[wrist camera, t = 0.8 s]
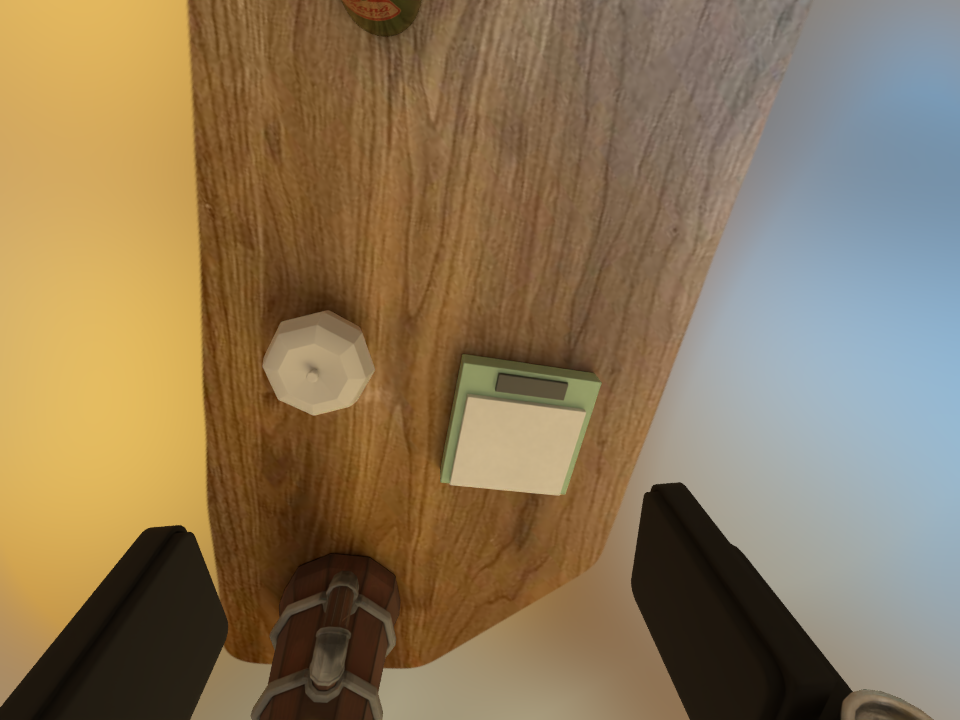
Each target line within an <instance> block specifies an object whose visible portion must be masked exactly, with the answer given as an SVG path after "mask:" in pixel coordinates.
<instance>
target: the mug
mask: <svg viewBox="0 0 960 720" xmlns="http://www.w3.org/2000/svg"><path fill="white" fill-rule="evenodd" d="M399 610H400V597H399V592H398V587H397V582H396V577H395V575H393V574H392V573H391V572H389V571H388V570H386V569H385V568H384V567H382V566H381V565H379V564H378V563H377V562H375V561H374V560H372V559H371V558H370V557H360V556H350V555H340V554H330V555H327V556H325V557H322V558H320V559H317V560H315V561H312V562H310V563H307V564H305V565H302V566H300V567H298V569H297V571H296V572H295V574H294V575H293V577H292V579H291V580H290V582H289V584H288V585H287V587H286V589H285V590H284V593H283V595H282V598H281V601H280V604H279V615H280V618H279V620H278V621H277V623H276V624H275V626H274V628H273V629H272V631H271V634H270V639H271V641H272V644H273V647H274V649H275V653H274V658H273V662H272V667H271V672H270V677H269V682H268V686H267V687H266V689H265V690H264V692H263V693H262V695H261V696H260V698H259V699H258V701H257V703H256V704H255V706H254V707H253V710H252V713H251V718H252V720H382V717H383V711H382V707H381V703H380V699H379V695H378V691H379V686H380V681H381V676H382V671H383V667H384V662H385V658H386V656H387V655H388V654H389V653H390V651H391V650H392V649H393V647H394V646H395V645H396V637H395V632H394V625H395V623H396V620H397V618H398V616H399Z"/></svg>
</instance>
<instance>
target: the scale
mask: <svg viewBox="0 0 960 720" xmlns="http://www.w3.org/2000/svg"><path fill="white" fill-rule="evenodd" d="M600 386H601V381H600V380H599V379H598V377H597V376H596V375H595V374H594V373H590V372H583V371H576V370H569V369H563V368H556V367H549V366H542V365H535V364H528V363H522V362H515V361H508V360H501V359H494V358H487V357H480V356H474V355H467V354H462V359H461V364H460V369H459V374H458V379H457V385H456V390H455V395H454V400H453V405H452V411H451V416H450V421H449V426H448V431H447V437H446V442H445V447H444V452H443V457H442V463H441V468H440V481H441V482H443V483H450V485H456V486H467V487H477V488H487V489H497V490H507V491H518V492H528V493H538V494H548V495H558V496H560V494H565V493H566V490H567V487H568V484H569V481H570V478H571V475H572V472H573V469H574V466H575V463H576V459H577V456H578V453H579V450H580V447H581V444H582V441H583V438H584V435H585V432H586V429H587V426H588V423H589V420H590V417H591V414H592V411H593V407H594V404H595V401H596V398H597V395H598V392H599V389H600Z"/></svg>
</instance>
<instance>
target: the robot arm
mask: <svg viewBox="0 0 960 720" xmlns="http://www.w3.org/2000/svg"><path fill="white" fill-rule="evenodd" d="M631 586H632V592H633V595H634V598H635V600H636V602H637V605H638V607H639V609H640V611H641V614H642V615H643V618H644V620H645V622H646V625H647V627H648V629H649V631H650V633H651V636H652V638H653V640H654V642H655V644H656V646H657V648H658V651H659V653H660V655H661V657H662V660H663V662H664V664H665V666H666V668H667V671H668V673H669V675H670V677H671V679H672V682H673V684H674V686H675V688H676V690H677V692H678V695H679V697H680V699H681V701H682V703H683V705H684V708H685V710H686V712H687V714H688V716H689V719H690V720H933V719H932V718H931V717H930V716H928V715H927V714H926V713H924V712H923V711H922V710H920V709H919V708H917V707H915V706H913V705H911V704H910V703H908V702H906V701H904V700H902V699H901V698H898V697H896V696H893V695H890V694H887V693H884V692H882V691H875V690H867V689H863V690H859V691H855V692H853V691H852V690H851V689H850V688H849V686H848V685H847V684H846V683H845V681H844V680H843V679H842V678H841V676H840V675H839V674H838V672H837V671H836V670H835V669H834V667H833V666H832V665H831V664H830V663H829V661H828V660H827V659H826V657H825V656H824V655H823V654H822V652H821V651H820V650H819V648H818V647H817V646H816V645H815V644H814V642H813V641H812V640H811V639H810V637H809V636H808V635H807V633H806V632H805V631H804V630H803V628H802V627H801V626H800V624H799V623H798V622H797V621H796V619H795V618H794V617H793V616H792V614H791V613H790V612H789V611H788V609H787V608H786V607H785V606H784V604H783V603H782V602H781V600H780V599H779V598H778V597H777V595H776V594H775V593H774V592H773V590H772V589H771V588H770V587H769V585H768V584H767V583H766V582H765V580H764V579H763V578H762V576H761V575H760V574H759V573H758V571H757V570H756V569H755V568H754V566H753V565H752V564H751V563H750V561H749V560H748V559H747V558H746V556H745V555H744V554H743V553H742V552H741V551H740V550H739V549H738V548H737V547H736V546H734V545H732V544H730V542H729V541H728V540H727V539H726V537H725V536H724V535H723V534H722V532H721V531H720V530H719V528H718V527H717V526H716V525H715V523H714V522H713V521H712V519H711V518H710V517H709V515H708V514H707V513H706V512H705V510H704V509H703V508H702V507H701V505H700V504H699V503H698V501H697V500H696V499H695V497H694V496H693V495H692V494H691V492H690V491H689V490H688V489H687V488H686V486H685V485H683V484H682V483H680V482H679V483H667V484H656V485H653V486H652V488H651V491H650V492H646V493H645V494H644V498H643V504H642V511H641V518H640V524H639V532H638V538H637V545H636V552H635V558H634V565H633V571H632V578H631ZM227 633H228V621H227V618H226V615H225V613H224V610H223V607H222V605H221V602H220V600H219V597H218V595H217V592H216V589H215V587H214V584H213V582H212V579H211V576H210V574H209V571H208V569H207V566H206V564H205V561H204V558H203V556H202V553H201V551H200V548H199V545H198V543H197V541H196V538H195V536H194V534H193V533H192V532H187V530H186V529H185V528H184V527H183V526H181V525H176V526H165V527H153V528H148V529H146V530H145V531H144V532H142V533H141V535H140V536H139V537H138V538H137V539H136V541H135V542H134V543H133V544H132V546H131V547H130V548H129V549H128V550H127V552H126V553H125V554H124V555H123V557H122V558H121V559H120V560H119V562H118V563H117V564H116V565H115V567H114V568H113V569H112V570H111V572H110V573H109V574H108V575H107V576H106V578H105V579H104V580H103V581H102V583H101V584H100V585H99V586H98V587H97V589H96V590H95V591H94V592H93V594H92V595H91V596H90V597H89V599H88V600H87V601H86V602H85V604H84V605H83V606H82V607H81V609H80V610H79V611H78V612H77V613H76V615H75V616H74V617H73V618H72V620H71V621H70V622H69V623H68V625H67V626H66V627H65V628H64V630H63V631H62V632H61V633H60V634H59V636H58V637H57V638H56V639H55V641H54V642H53V643H52V644H51V645H50V647H49V648H48V649H47V650H46V652H45V653H44V654H43V655H42V657H41V658H40V659H39V660H38V662H37V663H36V664H35V665H34V666H33V668H32V669H31V670H30V671H29V673H28V674H27V675H26V676H25V678H24V679H23V680H22V681H21V683H20V684H19V685H18V686H17V688H16V689H15V690H14V691H13V692H12V694H11V695H10V696H9V697H8V699H7V700H6V701H5V702H4V704H3V705H2V706H1V707H0V720H190V719H191V716H192V714H193V712H194V710H195V707H196V705H197V703H198V701H199V699H200V696H201V694H202V692H203V690H204V687H205V685H206V683H207V681H208V679H209V676H210V674H211V672H212V670H213V667H214V665H215V663H216V661H217V658H218V656H219V654H220V652H221V650H222V647H223V645H224V643H225V640H226V637H227Z"/></svg>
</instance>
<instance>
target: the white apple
mask: <svg viewBox="0 0 960 720" xmlns="http://www.w3.org/2000/svg"><path fill="white" fill-rule="evenodd" d="M263 368H264V370H265V372H266V375H267V377H268V379H269V381H270V383H271V385H272V387H273V390H274V392H275V394H276V396H277V398H278V400H280V401H283V402H285V403H287V404H289V405H291V406H294V407H296V408H298V409H300V410H303V411H305V412H307V413H309V414H311V415H318V414H322V413H326V412H330V411H334V410H339V409H343V408H347V407H350V406H351V405H353V404H354V403H355V402H357V400H358V399H359V397H360V395H361V393H362V392H363V390H364V388H365V386H366V385H367V383H368V381H369V380H370V378H371V376H372V374H373V373H374V371H375V368H374V365H373V362H372V359H371V356H370V354H369V351H368V348H367V345H366V342H365V339H364V336H363V334H362V331H361V329H360V327H359V326H357V325H355V324H353V323H351V322H350V321H348V320H346V319H344V318H342V317H340V316H339V315H337V314H335V313H333V312H331V311H329V310H327V311H322V312H318V313H314V314H310V315H306V316H302V317H298V318H294V319H290V320H286V321H282V322H281V323H280V325H279V327H278V329H277V331H276V333H275V335H274V337H273V339H272V341H271V343H270V346H269V348H268V350H267V352H266V354H265V356H264V360H263Z"/></svg>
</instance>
